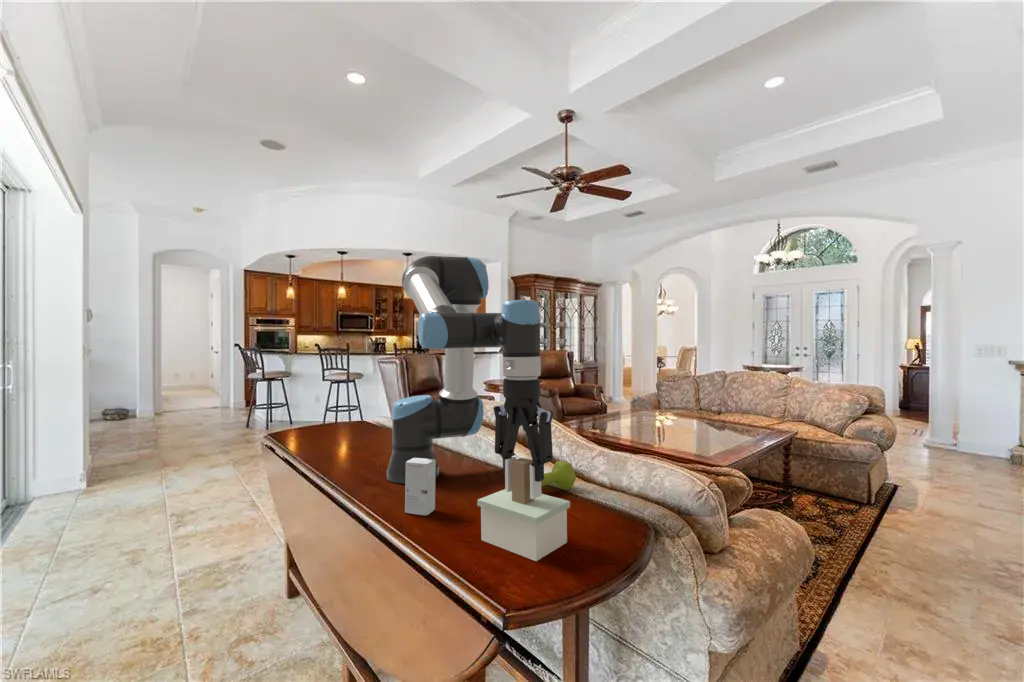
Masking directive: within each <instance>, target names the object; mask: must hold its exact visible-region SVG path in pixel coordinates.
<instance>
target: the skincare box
mask: <svg viewBox="0 0 1024 682" xmlns="http://www.w3.org/2000/svg"><path fill="white" fill-rule="evenodd" d="M436 460H437V459H436ZM436 460H433V459H425V458H412V459H410V460H408V461H407V462H406V472H405V485H404V486H405V487H404V489H405V490H404V493H405V494H404V495H405V496H404V503H405V504H404V513H405V514H410V515H416V516H417V515H418V516H423V517H424V516H428V515H430V514H431V513H432V512H434V511H435V510H436V478H435V468H436Z"/></svg>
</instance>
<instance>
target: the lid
mask: <svg viewBox="0 0 1024 682" xmlns="http://www.w3.org/2000/svg"><path fill="white" fill-rule="evenodd" d="M532 463H533V461H532V459H529V458H525V457H520V458H516V460H513V461H512V491H510V492H505V488H504V489H502V490H499V491H496V492H494V493H491V494H489V495H486V496H484V497H481V498H478V499H477V500H476V501H477V504H476V505H477V507H480V508H481V507H483V508H486V509H489V510H492V511H495V512H498V513H501V514H504V515H508V516H511V517H514V518H517V519H520V520H523V521H526V522H529V523H532V524H535V525H537V524H539V523H541V522H543V521H544V520H546V519H548V518H550V517H552V516H554V515H556V514H558V513H560V512H562V511H564V510H566V509H567V510H568V509H570V508H571V501H570V500H566V499H564V498H559V497H556V496H551V495H548V494H544V493H542V496H539V497H537V498H535V499H530V465H531V464H532Z"/></svg>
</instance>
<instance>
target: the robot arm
mask: <svg viewBox="0 0 1024 682" xmlns="http://www.w3.org/2000/svg"><path fill="white" fill-rule="evenodd" d="M489 283H490V282H489V275H488V270H487V268H486V266H485V263H484V262H483V261H482V260H481V259H479V258H474V257H468V256H465V257H464V256H463V257H462V256H439V255H427V256H423V257H420V258H417V259H416V260H414V261H413V262H411V263H410V264H408V266H407V267H406V268H405V269H404V271H403V274H402V278H401V286H402V288H403V291H404V292H405V295H406V296H407V297H408V298H409V299H411V300H412V301H413V303H414V306H415V307H416V309H417V311H418V313H419V316H418V321H417V337H418V343H419V346H421V347H422V348H423V349H435V350H443V349H444V351H445V352H444V353H445V354H444V357H445V358H444V386H443V388H442V389H441V390H439V393H438V397H439V398H438V399H433V397H432V396H431V395H429V394H423V395H413V396H407V397H403V398H401V399H398V400H396V401H395V402H394V403H393V404H392V408H391V409H392V411H391V420H392V423H391V424H392V425H391V426H392V428H391V429H392V432H391V433H392V437H391V438H392V440H391V441H392V445H391V446H392V453H391V456H390V459H389V462H388V466H387V468H386V479H387V481H389V482H391V483H394V484H403V485H404V484H405V472H406V462H407V461H408V460H410V459H412V458H425V459H433V460H436V468H435V479H436V478H438V477H439V475H440V466H439V463H438V460H437V457H436V455H435V452H434V448H433V440H435V439H436V440H437V439H447V438H449V439H450V438H460V437H462V438H465V437H467V436H468V437H469V436H473V435H476V434H477V433H478V432H479V431H480V430H481V427H482V426H483V425H482V424H483V423H484V422H483V421H484V413H485V410H484V403H483V399H482V398H481V397H480V396H478V392H477V391H476V389H474V368H475V367H474V366H475V365H474V363H475V362H474V361H475V349H478V348H479V349H480V348H481V349H482V348H483V349H484V348H485V349H486V348H487V349H488V348H502V373H503V376H504V377H505V378H504V379H503V381H502V393H503V394H502V395H503V397H504V398H505V401H504V404H502V405H501V404H500V405H496V406H493V413H494V417H495V421H494V422H495V423H494V424H495V425H494V426H495V427H494V430H495V431H494V453H495V454H496V455H499V456H501V458H502V472H503V474H504V484H505V485H504V486H505V487H504V489H505V492H510V491H512V461H513V460H516V459H517V457H515V456H516V453H515V448H516V444H517V440H518V439H517V438H518V435H519V430H520V428H521V427H522V429H523V431H524V432H525V435H526V439H527V442H528V447H529V452H530V455H531V460H532V461H533V463H532V464H531V465H530V499H535V498H537V497H539V496H542V494H543V493H542V492H543V491H542V486H541V481H543V480H544V473H545V465H546V464H547V463H550V462H552V461H554V459H553V458H554V456H553V453H554V452H553V437H552V434H553V433H552V421H553V416H554V412H553V411H552V410H545V409H544V408H543V407H542V406H541V403H540V398H541V396H542V391H541V390H542V389H541V388H542V386H541V385H542V381H541V380H540V378H538V377H540V376H541V374H542V372H541V371H542V368H541V366H542V365H541V363H542V362H541V321H542V319H541V314H540V313H541V312H540V304H539V303H538V302H537V300H532V299H513V300H505V301H504V302H503V303H502V305H501V306H502V310H501V312H476V311H477V309H479V307H480V306H481V305H482V299H483V300H484V299H485V298H487V296H488V292H489V287H490V286H489Z"/></svg>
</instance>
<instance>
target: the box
mask: <svg viewBox="0 0 1024 682" xmlns="http://www.w3.org/2000/svg"><path fill="white" fill-rule="evenodd" d="M567 511H568V509H566V510H564V511H562V512H560V513H558V514H556V515H554V516H552V517H550V518H548V519H546V520H544V521H543V522H541V523H539V524H537V525H535V524H532V523H529V522H526V521H523V520H520V519H517V518H514V517H511V516H508V515H504V514H501V513H498V512H495V511H492V510H489V509H486V508H483V507H480V532H481V533H480V535H481V536H480V539H481V541H482V542H485V543H488V544H491V545H493V546H496V547H498V548H501V549H503V550H506V551H508V552H511V553H514V554H516V555H519V556H521V557H524V558H526V559H529V560H532V561H535V562H538V561H539V560H541V559H543V558H544V557H546V556H547V555H549V554H551V553H552V552H554V551H555V550H558V549H559V548H561V547H562V546H564V545H565V544H567V543H568V531H567V530H568V525H567V524H568V521H567V520H568V517H567V516H568V514H567V513H568V512H567ZM542 557H543V558H542Z"/></svg>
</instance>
